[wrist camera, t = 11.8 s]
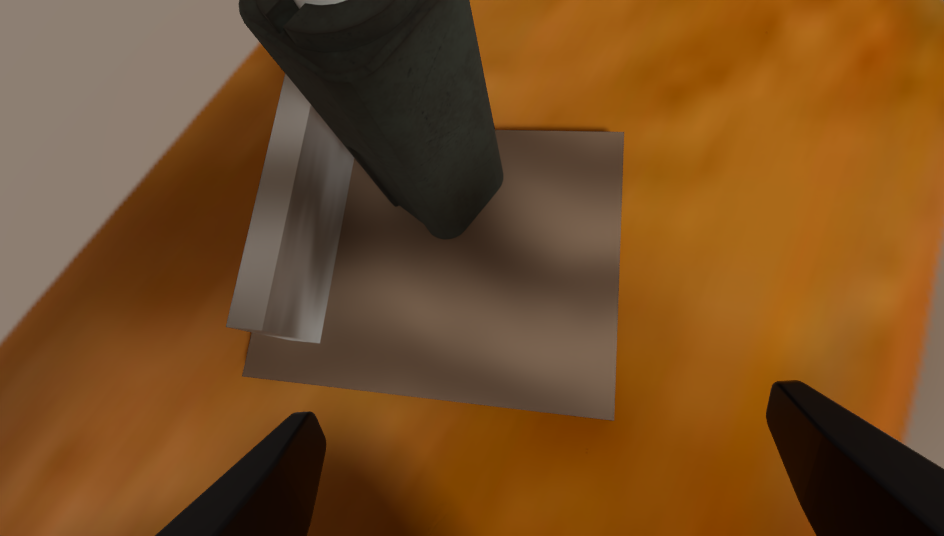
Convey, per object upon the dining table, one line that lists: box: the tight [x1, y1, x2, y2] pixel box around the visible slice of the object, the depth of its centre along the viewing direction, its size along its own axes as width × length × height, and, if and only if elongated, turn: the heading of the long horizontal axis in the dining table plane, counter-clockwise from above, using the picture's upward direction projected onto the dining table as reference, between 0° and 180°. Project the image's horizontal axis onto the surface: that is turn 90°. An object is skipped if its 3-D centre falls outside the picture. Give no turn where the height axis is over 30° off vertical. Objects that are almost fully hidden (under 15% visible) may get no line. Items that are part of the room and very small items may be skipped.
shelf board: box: [226, 73, 624, 420], centre depth 22 cm, size 14×18×6 cm
